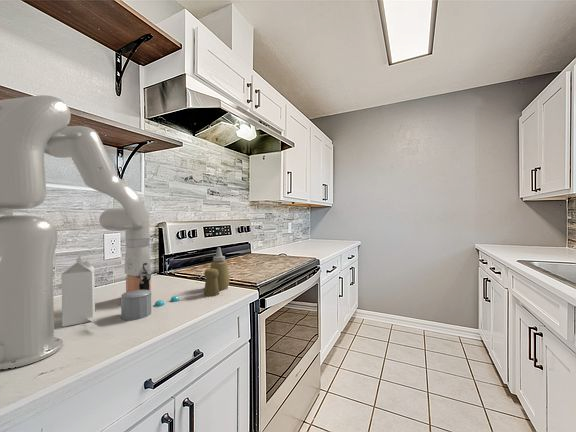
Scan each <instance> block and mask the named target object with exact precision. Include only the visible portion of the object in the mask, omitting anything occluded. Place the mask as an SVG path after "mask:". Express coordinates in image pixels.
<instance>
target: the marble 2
mask: <svg viewBox="0 0 576 432" xmlns="http://www.w3.org/2000/svg"><path fill="white" fill-rule="evenodd" d="M169 301H170V302H171V303H177V302H179V301H180V297H179V296H177V295H173V296H171V298H170V299H169Z"/></svg>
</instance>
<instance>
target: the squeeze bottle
mask: <svg viewBox="0 0 576 432" xmlns="http://www.w3.org/2000/svg"><path fill="white" fill-rule="evenodd" d="M209 269H217V270H218V272H219V274H218V277H217V280H218V287H219V292H220V291H224V290H228V288H229V284H230V276H229V275H230V274H229V267H228V262H227V260H226V256H225V255H223V253H222V249H221V247H220V246H219V247H217V248H216V254H215V255H214V256H213V257H212V261H211V262H210V268H209Z"/></svg>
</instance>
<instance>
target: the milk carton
mask: <svg viewBox="0 0 576 432" xmlns="http://www.w3.org/2000/svg"><path fill="white" fill-rule="evenodd" d="M95 281H96V280H95V266H93V263H92V262H91V261H89V260H87V259H86V260H83V259H81V255H79V256H78V257H77V258H76V262H75V263H73V264H72V265H71V266H69V267H68V268H67V269H65V271H63V272H62V273H61V315H62V316H61V319H62V320H61V321H62V322H61V323H62V324H61V325H62V327H69V326H74V325H80V324H87V323H91V322H92V320H90V319H89V318H94V315H95V311H96V291H95V290H96V288H95V287H96V286H95V285H96V284H95V283H96V282H95Z"/></svg>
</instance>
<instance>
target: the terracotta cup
mask: <svg viewBox="0 0 576 432" xmlns="http://www.w3.org/2000/svg"><path fill="white" fill-rule="evenodd" d="M144 277H145V276H143V277H142V278H144ZM139 284H141V283H140V279H139V276H138V277H133V276H130V275H127V274H126V276H125V293H126V292H130V291H135V290H139ZM149 288H150V291H151V292H152V277H151V278H150V282H149Z"/></svg>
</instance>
